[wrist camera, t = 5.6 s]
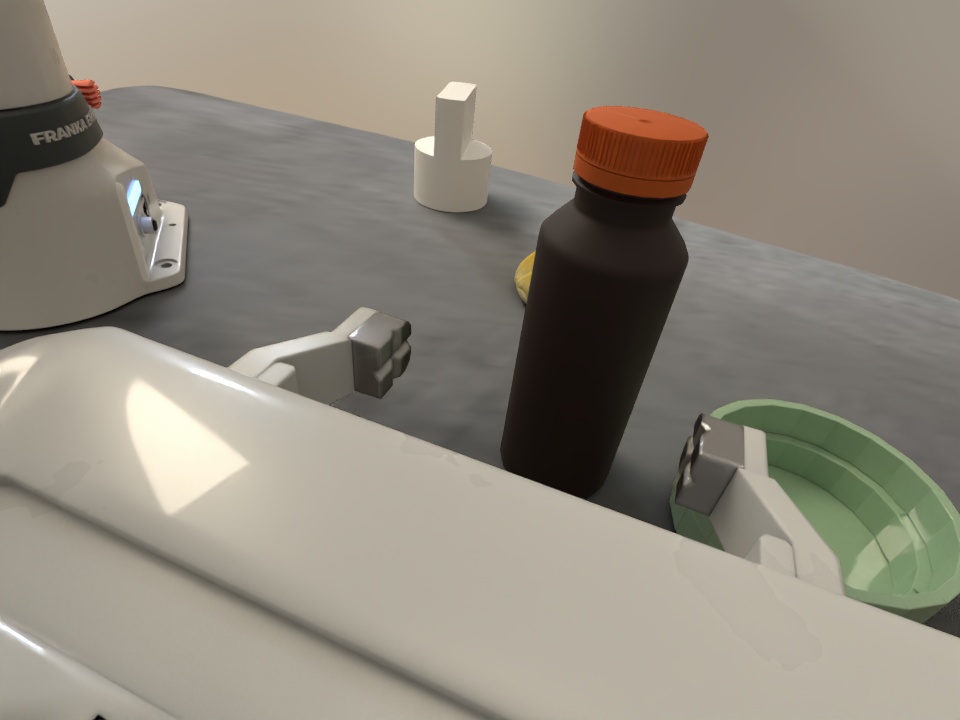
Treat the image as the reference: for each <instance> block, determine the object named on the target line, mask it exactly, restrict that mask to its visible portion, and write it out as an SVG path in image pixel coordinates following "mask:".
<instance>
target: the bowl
mask: <svg viewBox="0 0 960 720" xmlns="http://www.w3.org/2000/svg"><path fill="white" fill-rule="evenodd" d="M710 416H712V417H715V418H718V419H722V420H725V421H728V422H731V423H735V424H738V425H741V426H742V425H744V426H747V427H751V428H754V429H758V430H761V431H764V432H765V434H766V444H767V459H768V473H769V478H772V479H775V480H776V482H777V483H778V484H779V485H780V487H781V488H782V489H783V490H784V491H785V493H786V494H787V495H788V496H789V498H790V499H791V500H792V501H793V502H794V504H795V505H796V506H797V507H798V509H799V510H800V511H801V512H802V514H803V515H804V516H805V517H806V518H807V520H808V521H809V522H810V523H811V525H812V526H813V527H814V528H815V529H816V531H817V532H818V533H819V534H820V536H821V537H822V538H823V539H824V541H825V542H826V543H827V544H828V545H829V547H830V548H831V549H832V550H833V552H834V553H835V554H836V555H837V557H838V558H839V560H840V566H841V571H842V577H843V583H844V589H845V595H846V596H847V597H849V598H852V599H855V600H857V601H860V602H863V603H866V604H868V605H871V606H874V607H876V608H879V609H882V610H885V611H887V612H890V613H893V614H895V615H898V616H901V617H904V618H906V619H909V620H912V621H915V622H917V623H920V624H923V623H924V622H925V621H927V620H928V619H929V618H930V617H932V616H933V615H934V614H935V613H937V612H938V611H939V610H941V609H942V608H943V607H944V606H946V605H947V604H948V603H949V602H951V601H952V600H953V599H954V598H955V597H956V596H958V595H959V594H960V514H959V513H958V511H957V510H956V508H955V507H954V505H953V504H952V503H951V501H950V500H949V498H948V497H947V495H946V494H945V493H944V491H943V490H942V489H941V488H940V487H939V486H938V485H937V484H936V483H935V482H934V481H933V480H932V479H931V478H930V477H929V476H928V475H927V474H926V473H925V472H924V471H922V470H921V469H920V468H919V467H918V466H917V465H916V464H915V463H914V462H913V461H912V460H910V459H909V458H908V457H906V456H905V455H904V454H902V453H901V452H899V451H898V450H896V449H895V448H894V447H892V446H891V445H889V444H888V443H886V442H885V441H883V440H882V439H881V438H879V437H878V436H875V434H873V433H871V432H869V431H867V430H865V429H863V428H861V427H859V426H857V425H855V424H853V423H851V422H849V421H847V420H845V419H843V418H841V417H838V416H836V415H833V414H830V413H827V412H824V411H821V410H818V409H816V408H813V407H810V406H807V405H804V404H798V403H792V402H786V401H779V400H773V399H755V400H740V401H736V402H734V403H731V404H728V405H726V406H723V407H721V408H718V409H716V410H714V411H713V412H712V414H711V415H710ZM680 476H681V475H680V473H679V472H677V474H676V476H675V479H674V483H673V487H672V492H671V496H670V505H671V511H672V516H673V521H674V527H675V530H676V532H677V534H678V535H681V536H684V537H686V538H689V539H692V540H695V541H697V542H700V543H703V544H705V545H708V546H711V547H714V548H716V549H719V550H722V551H724V552H725V550H724V548H723V546H722V544H721V542H720V540H719V538H718V536H717V534H716V532H715V530H714V528H713V526H712V524H711V522H710V520H709V517H708V516H706V515H703V514H701V513H698V512H695V511H693V510H690V509H687V508H685V507H682V506H680V505H677V504H675V495H676V486H677V482H678V480H679V478H680Z"/></svg>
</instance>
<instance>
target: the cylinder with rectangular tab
mask: <svg viewBox="0 0 960 720" xmlns="http://www.w3.org/2000/svg"><path fill="white" fill-rule="evenodd" d="M475 97H476V85H473V84H468V83H460V82H450V83H449V84H448V85H447V86H446V88H444V89H443V90H442V91H441V93H440V94H439V95H438V96H437V97H436V113H435V136H430V137H425V138H422V139H419V140H418V141H416V143H415V162H414V197H415V200H417V201H418V202H419V203H420V204H422V205H424V206H426V207H429V208H431V209H435V210H440V211H445V212H469V211H474V210H477V209H480V208H482V207H484V206H485V204H486V203H487V196H488V186H489V177H490V168H491V158H492V149H491V148H490V147H489V146H488V145H486V144H484V143H482V142H480V141H477V140H473V139H472V134H473V121H474V110H475Z"/></svg>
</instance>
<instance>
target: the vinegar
mask: <svg viewBox="0 0 960 720" xmlns="http://www.w3.org/2000/svg"><path fill="white" fill-rule="evenodd" d="M707 139H708V133H706V131H705V129H704V128H702V127H701V126H699V125H698V124H696V123H694V122H692V121H689V120H687V119H684V118H681V117H677V116H674V115H671V114H667V113H663V112H658V111H653V110H648V109H641V108H635V107H623V106H603V107H596V108H592V109H590V110H588V111H586V112H585V113H584V115H583V120H582V125H581V130H580V135H579V139H578V144H577V151H576V156H575V161H574V167H573V169H574V172H573V177H572V181H573V182H574V184H575V185H576V187H577V188H576V192H575V197H574V199H572V200H571V201H569V202H568V203H566V204H565V205H564V206H562V207H561V208H559V209H558V210H557V211H555V212H554V213H553V214H551V215H550V216H549V217H548V218H547V219H545V220H544V222H543V223H542V225H541V228H540V232H539V236H538V241H537V247H536V253H535V258H534V264H533V269H532V275H531V281H530V286H529V292H528V297H527V303H526V309H525V314H524V320H523V325H522V331H521V337H520V342H519V348H518V353H517V359H516V365H515V370H514V376H513V381H512V387H511V393H510V398H509V404H508V409H507V415H506V421H505V426H504V432H503V437H502V443H501V449H500V451H501V456H502V460H503V465H504V467H505V469H506V470H507V472H510V473H513V474H515V475H518V476H521V477H524V478H526V479H529V480H532V481H535V482H537V483H540V484H543V485H545V486H548V487H551V488H554V489H556V490H559V491H562V492H564V493H567V494H570V495H573V496H575V497H578V498H584V497H587V496H590V495H592V494H593V493H594V492H595V491H596V490H597V489H599V488H600V487H601V486H602V485H603V484H604V481H605V479H606V477H607V475H608V473H609V470H610V468H611V465H612V462H613V460H614V457H615V454H616V452H617V449H618V446H619V444H620V441H621V438H622V436H623V433H624V430H625V428H626V425H627V423H628V420H629V417H630V415H631V412H632V409H633V407H634V404H635V401H636V399H637V396H638V393H639V391H640V388H641V385H642V383H643V380H644V378H645V375H646V372H647V370H648V367H649V364H650V362H651V359H652V356H653V354H654V351H655V348H656V346H657V343H658V340H659V338H660V335H661V333H662V330H663V327H664V325H665V322H666V319H667V317H668V314H669V311H670V309H671V306H672V303H673V301H674V298H675V295H676V293H677V290H678V288H679V285H680V282H681V280H682V277H683V274H684V272H685V269H686V266H687V264H688V252H687V249H686V245H685V242H684V240H683V238H682V236H681V234H680V233H679V231H678V229H677V227H676V225H675V223H674V221H673V220H672V216H673V213H674V210H675V207H676V206H678V205H681V204H682V203H683V202H684V200H685V198H686V193H687V192H688V191H689V189H690V188H691V185H692V183H693V180H694V177H695V174H696V171H697V168H698V165H699V162H700V159H701V157H702V154H703V151H704V148H705V145H706V142H707Z"/></svg>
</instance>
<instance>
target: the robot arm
mask: <svg viewBox="0 0 960 720" xmlns="http://www.w3.org/2000/svg"><path fill="white" fill-rule="evenodd" d="M94 83H95V82H94V81H92V80H80V81H75V80H74V79H73V78H72V77H71V76H70V75H69V74H68V71H67V68H66V65H65V62H64V59H63V57H62V54H61V51H60V48H59V45H58V42H57V39H56V36H55V33H54V30H53V27H52V24H51V21H50V18H49V16H48V13H47V10H46V7H45V4H44V1H43V0H0V330H29V329H39V328H46V327H53V326H58V325H64V324H68V323H73V322H77V321H80V320H84V319H88V318H91V317H94V316H97V315H100V314H103V313H105V312H108V311H110V310H113V309H115V308H117V307H120V306H122V305H124V304H126V303H128V302H130V301H132V300H134V299H136V298H138V297H140V296H143V295H145V294H148V293H152V292H156V291H160V290H163V289H167V288H170V287H173V286H176V285H178V284H180V283H182V282H183V281H184V279H185V265H186V248H187V231H188V214H187V211H186V208H185V207H184V206H183V205H180V204H176V203H173V202H168V201H163V200H157V197H156V194H155V190H154V187H153V184H152V181H151V178H150V175H149V172H148V170H147V168H146V166H145V165H144V164H143V163H142V162H141V161H140V160H138V159H136V158H135V157H133V156H131V155H129V154H128V153H126V152H124V151H123V150H121V149H120V148H118V147H117V146H115V145H114V144H112V143H110V142H109V141H107V140H106V139H104V138H103V137H102V136H103V132H102V130H101V128H100V126H99V124H98V122H97V120H96V116H95V113H94V111H93V110H92V108H94V109H98V108H100V106H101V102H99V101H100V100H101V96H98V95H99V94H100V91H99V90H97V89H98V86H97V85H94ZM410 335H411V324H410V323H409V322H408V321H405V320H402V319H399V318H396V317H393V316H390V315H387V314H385V313H382V312H378V311H375V310H372V309H369V308H366V307H361V308H359V309H358V310H357V311H356V312H354V313H353V314H352V315H351V316H350V317H349V318H347V319H346V320H345V321H344V322H343V323H342V324H340V325H339V326H338V327H337V328H336V329H335V330H334V331H332V332H331V333H330V332H327V331H326V332H322V333H318V334H314V335H310V336H306V337H302V338H298V339H294V340H290V341H285V342H281V343H277V344H273V345H269V346H265V347H261V348H257V349H253V350H250V351H249V352H248V353H246V354H245V355H244V356H242V357H241V358H240V359H239V360H237V361H236V362H235V363H233V364H232V365H231V366H229V367H228V368H225V367H223V366H220V365H217V364H215V363H212V362H209V361H206V360H204V359H201V358H198V357H196V356H193V355H190V354H187V353H185V352H182V351H179V350H177V349H174V348H171V347H168V346H166V345H163V344H160V343H158V342H155V341H152V340H150V339H147V338H144V337H142V336H139V335H137V334H134V333H132V332H129V331H126V330H124V329H120V328H116V327H97V328H87V329H80V330H74V331H68V332H62V333H56V334H50V335H44V336H39V337H35V338H32V339H28V340H25V341H22V342H20V343H17V344H14V345H12V346H9V347H7V348H4V349H2V350H0V720H960V638H958V637H955V636H953V635H950V634H947V633H945V632H942V631H939V630H936V629H934V628H931V627H928V626H925V625H923V624H920V623H917V622H915V621H912V620H909V619H906V618H904V617H901V616H898V615H895V614H893V613H890V612H887V611H885V610H882V609H879V608H876V607H874V606H871V605H868V604H866V603H863V602H860V601H857V600H855V599H852V598H849V597H847V596H846V595H845V589H844V583H843V577H842V571H841V566H840V560H839V558H838V557H837V555H836V554H835V553H834V552H833V550H832V549H831V548H830V547H829V545H828V544H827V543H826V542H825V541H824V539H823V538H822V537H821V536H820V534H819V533H818V532H817V531H816V529H815V528H814V527H813V526H812V525H811V523H810V522H809V521H808V520H807V518H806V517H805V516H804V515H803V514H802V512H801V511H800V510H799V509H798V507H797V506H796V505H795V504H794V502H793V501H792V500H791V499H790V498H789V496H788V495H787V494H786V493H785V491H784V490H783V489H782V488H781V487H780V485H779V484H778V483H777V482H776V480H775V479H772V478H769V473H768V459H767V444H766V434H765V432H764V431H761V430H758V429H754V428H751V427H747V426H744V425H742V426H741V425H738V424H735V423H731V422H728V421H725V420H722V419H718V418H715V417H712V416H709V415H705V414H702V413H701V414H700V415H699V417H698V418H697V420H696V423H695V425H694V433H693V435H692V436H690V437H688V439H687V442H686V444H685V446H684V449H683V452H682V455H681V458H680V463H679V469H678V472H679V473H680V475H681V476H680V478H679V480H678V482H677V486H676V495H675V504H677V505H680V506H682V507H685V508H687V509H690V510H693V511H695V512H698V513H701V514H703V515H706V516H708V517H709V520H710V522H711V524H712V526H713V528H714V530H715V532H716V534H717V536H718V538H719V540H720V542H721V544H722V546H723V548H724V550H725V552H724V551H722V550H719V549H716V548H714V547H711V546H708V545H705V544H703V543H700V542H697V541H695V540H692V539H689V538H686V537H684V536H681V535H678V534H676V533H673V532H670V531H668V530H665V529H662V528H659V527H657V526H654V525H651V524H649V523H646V522H643V521H640V520H638V519H635V518H632V517H630V516H627V515H624V514H621V513H619V512H616V511H613V510H611V509H608V508H605V507H602V506H600V505H597V504H594V503H592V502H589V501H586V500H583V499H581V498H578V497H575V496H573V495H570V494H567V493H564V492H562V491H559V490H556V489H554V488H551V487H548V486H545V485H543V484H540V483H537V482H535V481H532V480H529V479H526V478H524V477H521V476H518V475H515V474H513V473H510V472H507V471H505V470H502V469H499V468H497V467H494V466H491V465H488V464H486V463H483V462H480V461H478V460H475V459H472V458H469V457H467V456H464V455H461V454H459V453H456V452H453V451H450V450H448V449H445V448H442V447H440V446H437V445H434V444H431V443H429V442H426V441H423V440H421V439H418V438H415V437H413V436H410V435H407V434H404V433H402V432H399V431H396V430H394V429H391V428H388V427H385V426H383V425H380V424H377V423H375V422H372V421H369V420H366V419H364V418H361V417H358V416H356V415H353V414H350V413H347V412H345V411H342V410H339V409H337V408H334V407H331V406H328V405H327V404H329V403H331V402H333V401H336V400H338V399H340V398H342V397H345V396H347V395H349V394H351V393H354V392H355V391H357V392H361V393H364V394H367V395H370V396H373V397H376V398H379V399H381V398H382V397H383V396H384V395H385V394H386V393H387V391H388V390H389V389H390V388H391V387H392V386H393V379H394V378H397V377H400V376H401V375H402V374H403V372H404V371H405V370H406V367H407V365H408V363H409V360H410V355H411V346H410V345H409V343H408V341H407V339H408V337H409V336H410Z"/></svg>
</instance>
